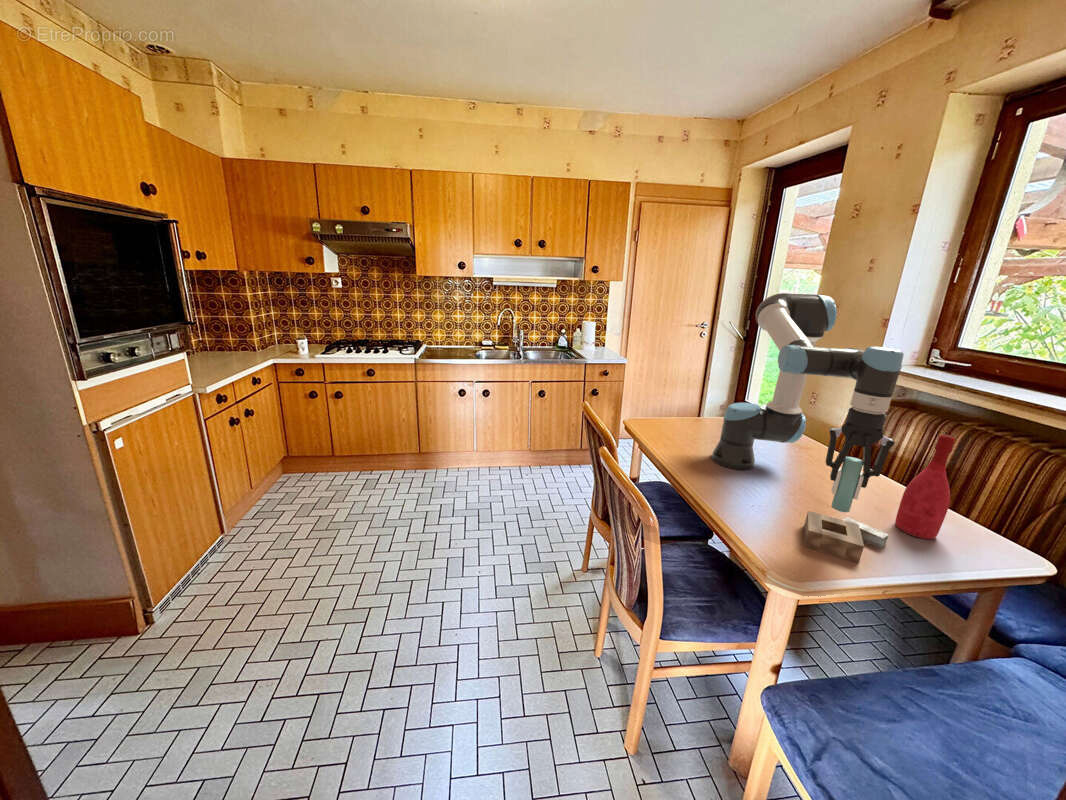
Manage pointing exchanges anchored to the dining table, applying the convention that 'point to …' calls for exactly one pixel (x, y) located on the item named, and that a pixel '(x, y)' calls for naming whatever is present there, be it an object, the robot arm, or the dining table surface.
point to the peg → (847, 484)
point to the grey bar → (870, 534)
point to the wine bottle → (927, 496)
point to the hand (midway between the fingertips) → (844, 494)
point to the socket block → (833, 536)
